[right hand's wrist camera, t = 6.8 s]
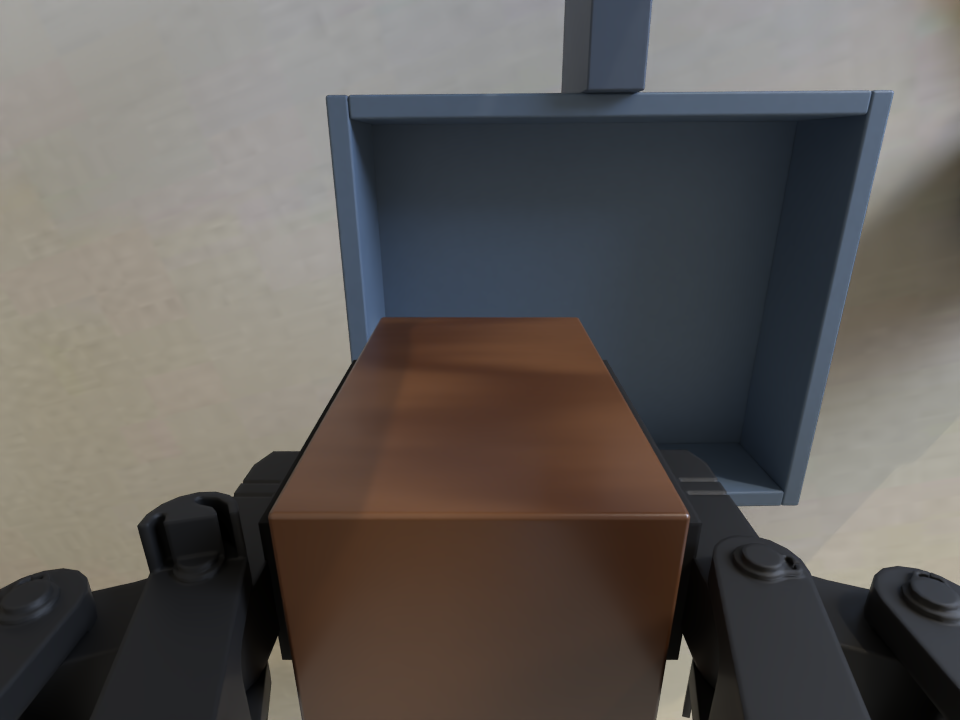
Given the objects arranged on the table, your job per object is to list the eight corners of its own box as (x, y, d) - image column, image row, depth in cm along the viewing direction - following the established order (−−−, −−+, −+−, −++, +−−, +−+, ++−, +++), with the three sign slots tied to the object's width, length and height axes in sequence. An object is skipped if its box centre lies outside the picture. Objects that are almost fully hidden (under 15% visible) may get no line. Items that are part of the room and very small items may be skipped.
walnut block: (391, 484, 16) (312, 791, 8) (380, 316, 14) (264, 515, 6) (567, 484, 16) (645, 792, 8) (579, 316, 14) (692, 515, 6)
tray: (385, 447, 23) (363, 521, 19) (311, -470, 14) (231, -780, 9) (740, 442, 24) (806, 514, 19) (905, -470, 14) (1117, -776, 9)
